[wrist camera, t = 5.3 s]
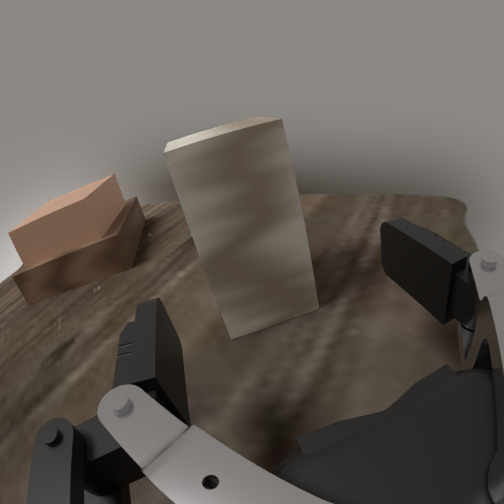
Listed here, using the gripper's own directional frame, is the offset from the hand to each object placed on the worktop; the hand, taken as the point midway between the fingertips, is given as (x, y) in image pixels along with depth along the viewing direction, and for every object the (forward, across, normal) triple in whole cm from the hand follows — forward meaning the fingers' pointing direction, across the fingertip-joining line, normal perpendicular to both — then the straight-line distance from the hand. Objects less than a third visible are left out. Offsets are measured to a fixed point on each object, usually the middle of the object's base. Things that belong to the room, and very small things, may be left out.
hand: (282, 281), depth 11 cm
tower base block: (+24, -16, -6) cm, 30 cm away
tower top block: (+24, -16, -2) cm, 29 cm away
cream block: (+7, 0, -5) cm, 9 cm away
